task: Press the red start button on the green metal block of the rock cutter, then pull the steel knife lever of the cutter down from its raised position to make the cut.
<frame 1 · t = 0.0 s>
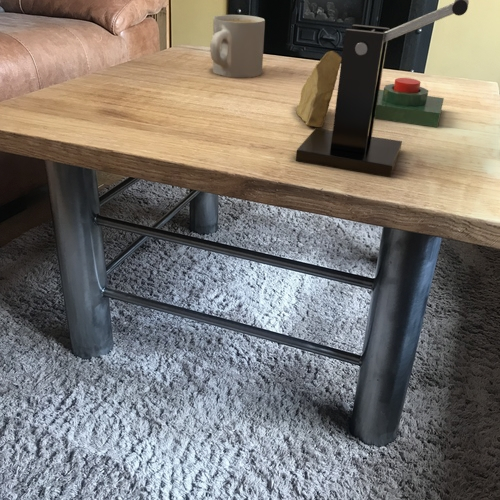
knife lever: (408, 27, 64), point 16 cm above the table, hinge at 28.0°
cutter: (349, 156, 74), on the table
rock: (310, 119, 88), on the table
coffee mug: (231, 73, 112), on the table
start button: (406, 86, 90), point 4 cm above the table, slide at 0.1 cm
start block: (401, 113, 92), on the table
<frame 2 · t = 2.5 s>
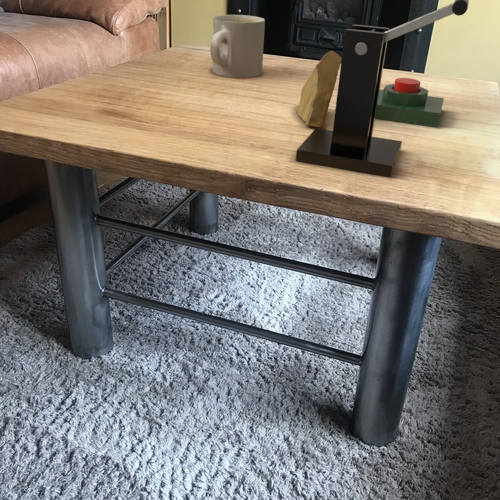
nothing on the table moved.
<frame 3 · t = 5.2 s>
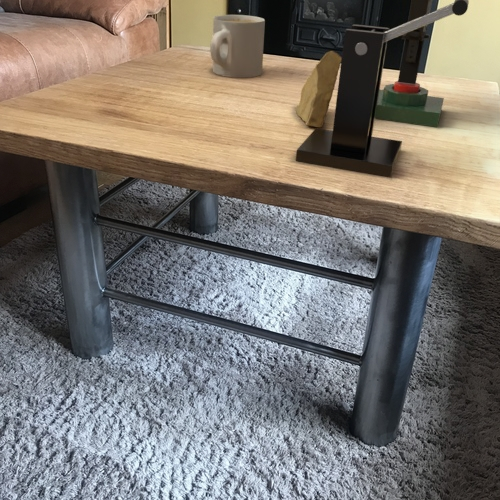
hand: (406, 81, 90), 5 cm above the table, tool pointing down, fingers closed
start button: (406, 89, 90), point 4 cm above the table, slide at -0.4 cm, touching gripper
everything else where it was.
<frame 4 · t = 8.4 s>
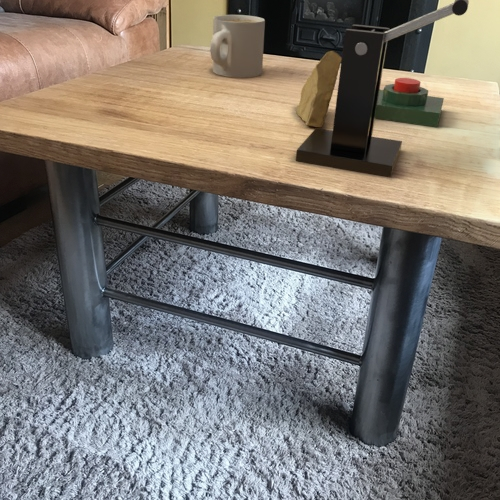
start button: (406, 86, 90), point 4 cm above the table, slide at 0.1 cm
everything else where it was.
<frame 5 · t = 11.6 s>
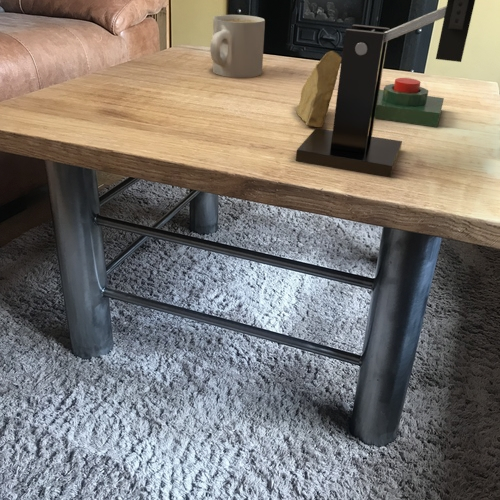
hand: (449, 55, 64), 14 cm above the table, tool pointing down, fingers closed on knife lever, 5 cm apart
knife lever: (408, 27, 64), point 16 cm above the table, hinge at 28.0°, touching gripper
everything else where it was.
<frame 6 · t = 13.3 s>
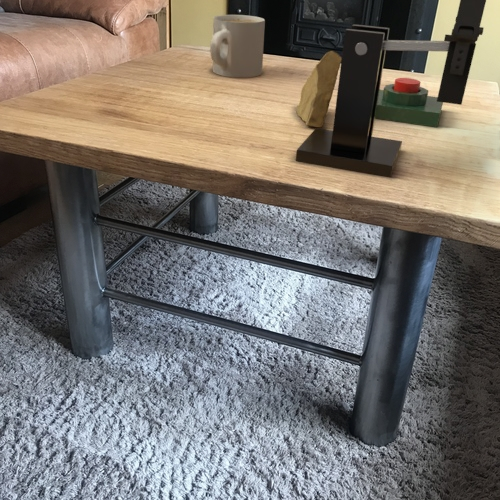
hand: (450, 96, 66), 9 cm above the table, tool pointing down, fingers closed on knife lever, 5 cm apart
knife lever: (410, 45, 65), point 14 cm above the table, hinge at 5.1°, touching gripper
everything else where it was.
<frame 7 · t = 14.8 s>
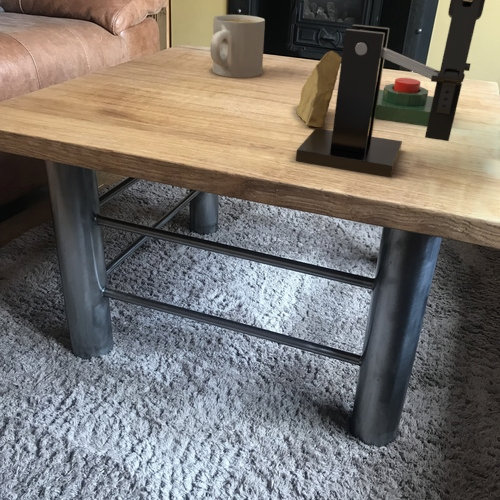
hand: (438, 130, 68), 5 cm above the table, tool pointing down, fingers open, 6 cm apart
knife lever: (405, 62, 66), point 13 cm above the table, hinge at -16.2°
everything else where it was.
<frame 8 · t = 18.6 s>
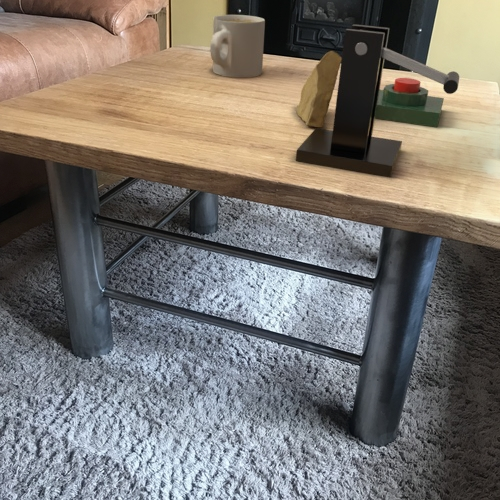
nothing on the table moved.
at the end: start button pushed in 1.0 cm at the most during the clip, back to where it started at the end; start button slide at 0.1 cm; knife lever at -16° (first picture: +28°) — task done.
